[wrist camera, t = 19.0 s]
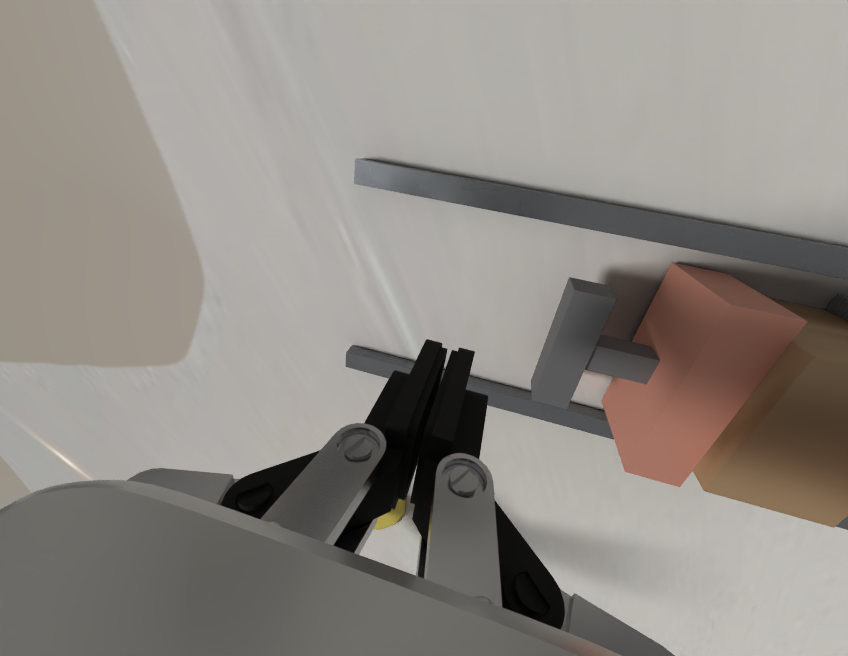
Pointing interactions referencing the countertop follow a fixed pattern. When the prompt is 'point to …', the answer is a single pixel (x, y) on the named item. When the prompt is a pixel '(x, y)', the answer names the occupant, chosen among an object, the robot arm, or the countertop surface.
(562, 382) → the block
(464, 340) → the countertop surface
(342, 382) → the countertop surface
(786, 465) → the block
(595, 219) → the vise bed
